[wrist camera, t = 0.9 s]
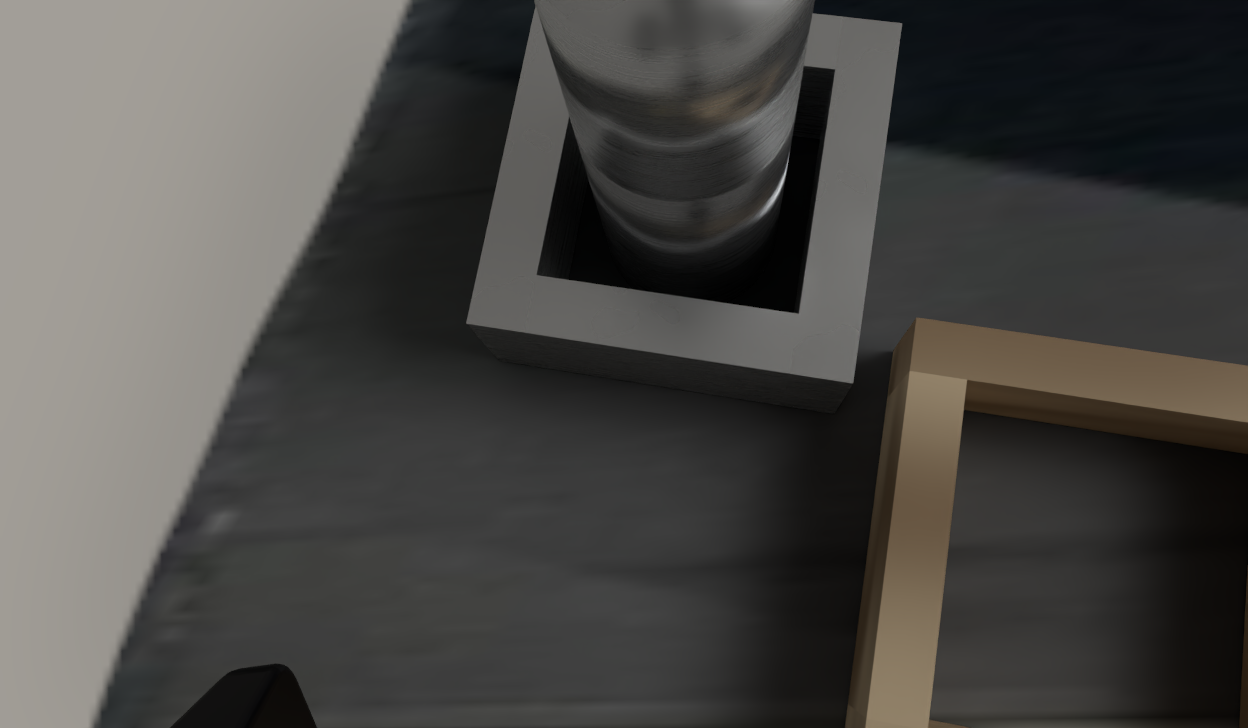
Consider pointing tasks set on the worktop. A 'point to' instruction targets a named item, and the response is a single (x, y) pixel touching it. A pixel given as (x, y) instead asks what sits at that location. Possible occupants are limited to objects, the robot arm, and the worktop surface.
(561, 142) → the socket block
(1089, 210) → the worktop surface
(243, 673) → the robot arm
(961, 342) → the wooden box
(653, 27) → the tin canister
